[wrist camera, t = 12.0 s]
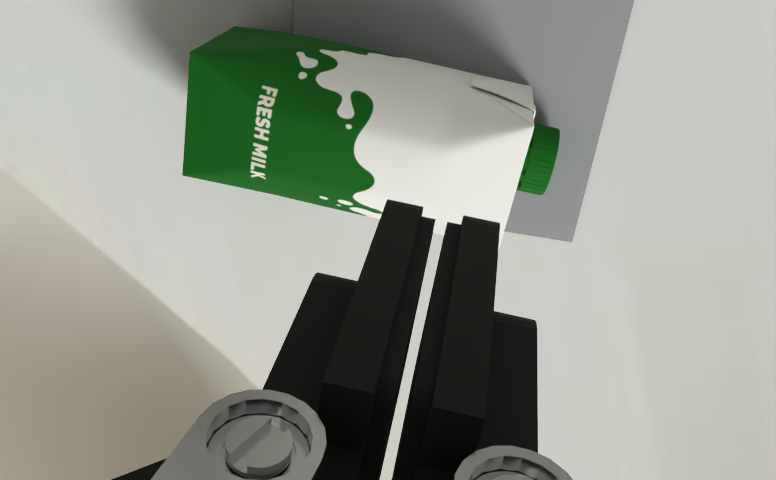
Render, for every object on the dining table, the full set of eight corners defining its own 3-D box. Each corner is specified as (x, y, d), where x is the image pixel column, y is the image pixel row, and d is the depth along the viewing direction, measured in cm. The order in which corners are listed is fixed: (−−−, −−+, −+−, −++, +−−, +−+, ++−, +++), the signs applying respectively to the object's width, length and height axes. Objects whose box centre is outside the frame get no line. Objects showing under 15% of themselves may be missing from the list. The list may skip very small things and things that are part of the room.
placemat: (296, -55, 42) (294, -54, 42) (635, -12, 40) (636, -10, 40) (289, 194, 50) (288, 196, 50) (571, 239, 49) (571, 242, 48)
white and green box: (228, 143, 49) (528, 212, 48) (172, 197, 41) (533, 281, 40) (240, 7, 44) (569, 80, 44) (181, 37, 36) (583, 127, 36)
